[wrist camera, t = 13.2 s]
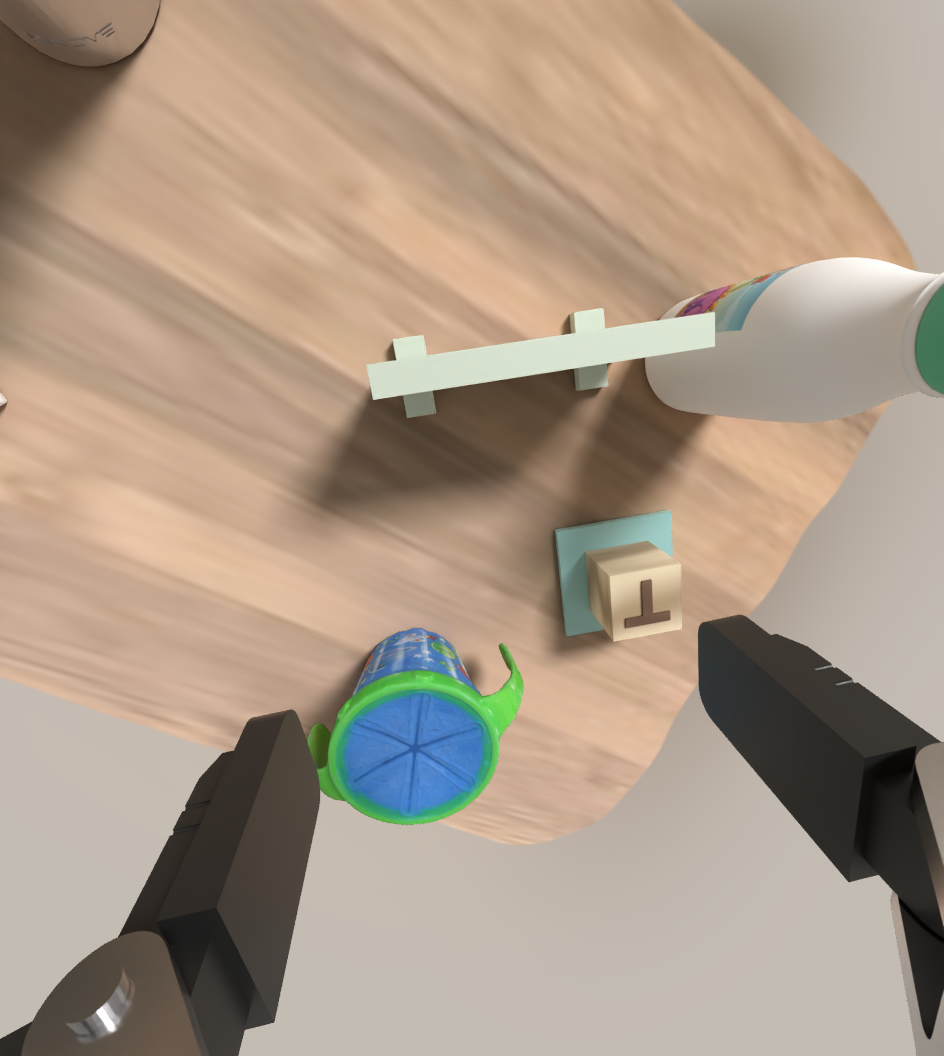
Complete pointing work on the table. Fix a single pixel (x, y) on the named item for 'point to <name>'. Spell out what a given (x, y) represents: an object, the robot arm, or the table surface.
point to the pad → (592, 538)
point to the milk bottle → (810, 343)
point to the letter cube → (634, 590)
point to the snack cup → (414, 732)
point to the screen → (534, 357)
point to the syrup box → (2, 400)
